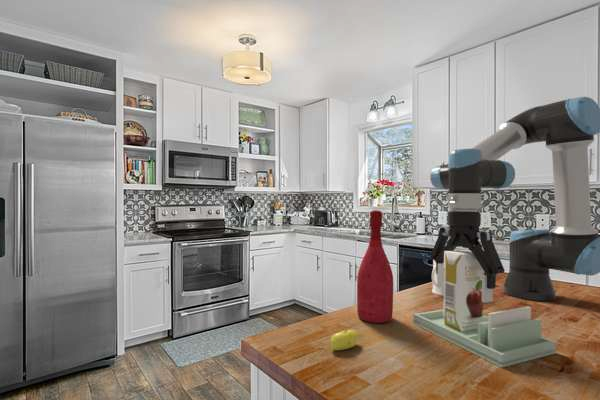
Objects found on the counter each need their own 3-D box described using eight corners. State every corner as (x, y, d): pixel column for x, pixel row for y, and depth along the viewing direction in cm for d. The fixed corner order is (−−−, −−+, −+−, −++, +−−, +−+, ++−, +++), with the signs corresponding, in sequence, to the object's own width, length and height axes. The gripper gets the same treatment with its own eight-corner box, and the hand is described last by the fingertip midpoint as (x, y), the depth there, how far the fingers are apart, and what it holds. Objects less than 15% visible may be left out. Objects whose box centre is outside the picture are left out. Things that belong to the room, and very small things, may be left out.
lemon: (325, 348, 73) (325, 331, 73) (352, 340, 78) (352, 323, 78) (337, 356, 70) (337, 337, 70) (364, 347, 74) (365, 329, 74)
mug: (440, 299, 111) (441, 263, 111) (420, 292, 119) (421, 259, 119) (463, 294, 117) (464, 260, 117) (442, 288, 124) (443, 256, 124)
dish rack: (460, 315, 95) (460, 284, 95) (555, 353, 72) (556, 311, 72) (413, 323, 89) (413, 289, 89) (501, 367, 66) (502, 322, 66)
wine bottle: (399, 318, 93) (400, 210, 93) (381, 327, 86) (383, 211, 85) (368, 309, 99) (369, 209, 99) (349, 318, 92) (351, 210, 92)
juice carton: (438, 323, 86) (439, 250, 86) (462, 319, 90) (463, 248, 90) (462, 334, 79) (463, 254, 79) (487, 329, 83) (488, 253, 83)
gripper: (417, 208, 95) (416, 283, 95) (500, 212, 72) (498, 311, 72) (437, 208, 97) (436, 281, 98) (523, 212, 74) (521, 307, 74)
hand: (463, 294), depth 85 cm, fingers open, 13 cm apart
